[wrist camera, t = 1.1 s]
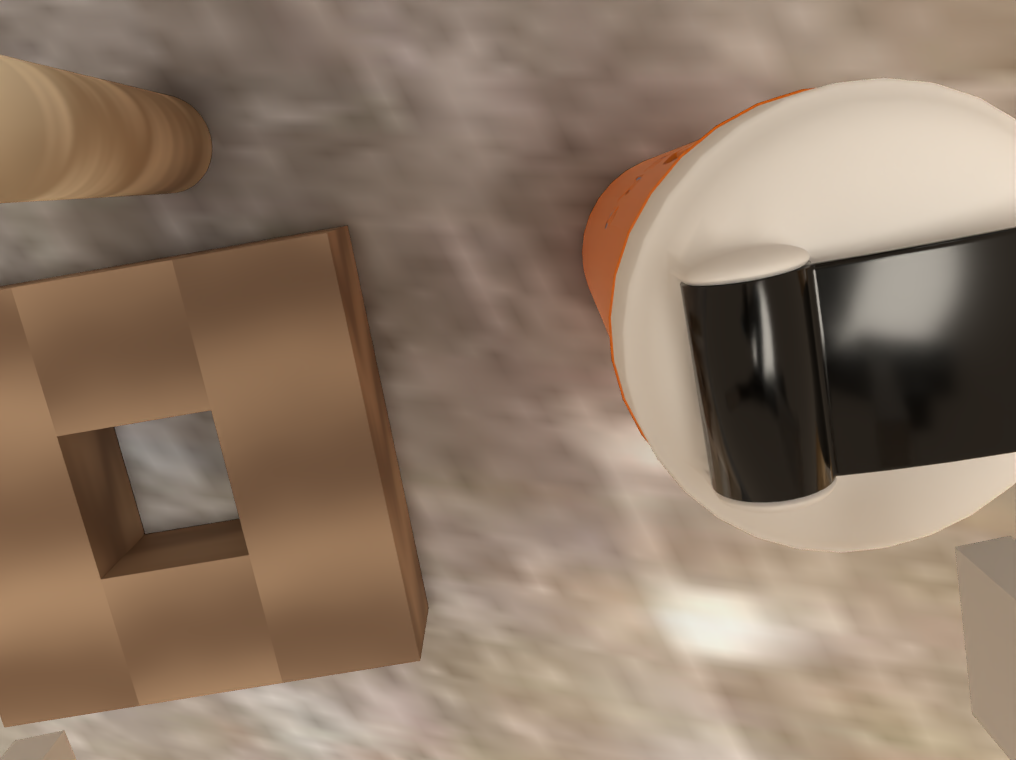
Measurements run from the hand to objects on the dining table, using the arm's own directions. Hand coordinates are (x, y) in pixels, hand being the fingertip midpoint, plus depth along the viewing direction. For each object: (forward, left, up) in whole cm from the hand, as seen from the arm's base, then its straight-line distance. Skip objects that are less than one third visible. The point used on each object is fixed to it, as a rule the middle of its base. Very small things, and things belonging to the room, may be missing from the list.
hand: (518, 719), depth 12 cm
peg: (-11, -11, -22) cm, 27 cm away
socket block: (+1, -13, -22) cm, 25 cm away
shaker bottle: (-4, +7, -22) cm, 23 cm away
